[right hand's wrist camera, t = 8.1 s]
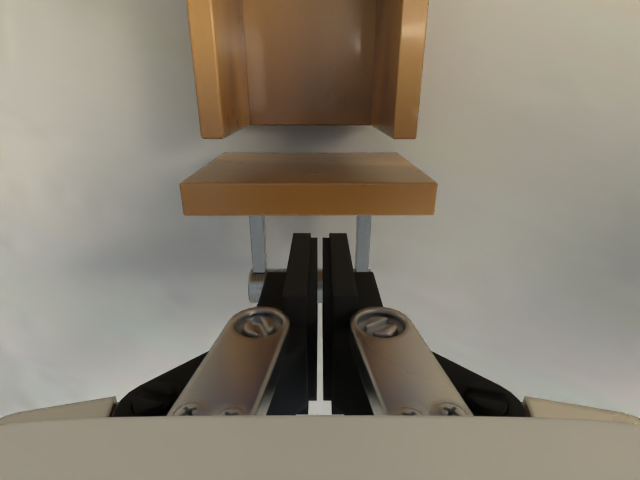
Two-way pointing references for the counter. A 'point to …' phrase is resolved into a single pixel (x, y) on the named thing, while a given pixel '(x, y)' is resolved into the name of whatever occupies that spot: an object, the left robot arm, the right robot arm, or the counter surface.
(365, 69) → the drawer
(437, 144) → the counter surface
